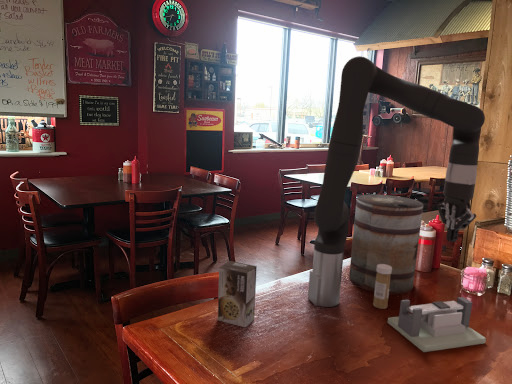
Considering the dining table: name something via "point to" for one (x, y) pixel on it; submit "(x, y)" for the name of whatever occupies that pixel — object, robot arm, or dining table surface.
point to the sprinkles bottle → (382, 286)
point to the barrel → (385, 241)
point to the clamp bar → (436, 307)
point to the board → (437, 327)
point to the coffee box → (236, 293)
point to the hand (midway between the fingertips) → (451, 241)
